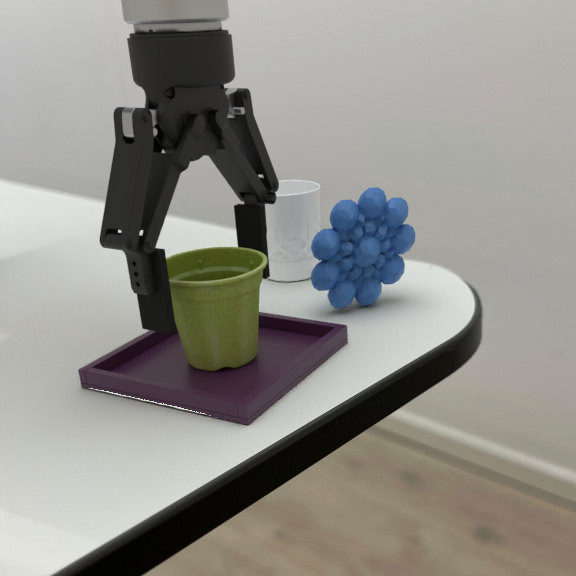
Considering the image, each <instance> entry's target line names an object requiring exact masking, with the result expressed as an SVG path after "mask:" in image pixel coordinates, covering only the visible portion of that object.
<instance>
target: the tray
mask: <svg viewBox="0 0 576 576" xmlns="http://www.w3.org/2000/svg"><path fill="white" fill-rule="evenodd" d="M175 325H176V323H175ZM348 335H349V334H348V324H341V323H335V322H328V321H322V320H316V319H309V318H302V317H296V316H290V315H289V316H288V315H283V314H275V313H271V312H270V313H269V312H264V311H263V312H262V311H259V319H258V350H257V355H256V357H255V358H254V359H253V360H252V361H250V362H249V363H247V364H245V365H243V366H240V367H237V368H232V367H223V368H220V369H219V370H217V371H206V370H201V369H197V368H195V367H193V366H191V365H190V364H189V362H188V361H187V358H186V355H185V352H184V348H183V345H182V342H181V338H180V335H179V332H178V329H177V326H176V331H174V332H173V333H171V334H167V333H162V332H156V331H151V330H146V332H144V333H142V334H140V335H139V336H137V337H134V338H133V339H131V340H129V341H127V342H126V343H123V344H122V345H120V346H118V347H116V348H115V349H113V350H111V351H109V352H107V353H105V354H104V355H102V356H100V357H98V358H97V359H95V360H92V361H91V362H89V363H87V364H86V365H84V366H82V367H80V368H78V369H77V373H78V375H79V376H78V377H79V381H80V387H81V388H82V387H84V388H83V389H85V388H93V389H98V390H104V391H109V392H113V393H118V394H121V395H126V396H131V397H135V398H140V399H143V400H144V399H145V400H149V401H154V402H157V403H162V404H163V403H164V404H167V405H172V406H177V407H181V408H184V409H188V410H192V411H195V412H196V411H197V412H199V413H200V412H201V413H205V414H207V415H211V416H213V417H212V418H214V417H217V418H216V419H218V418H223V419H225V420H224V421H227V420H229V421H228V422H232V421H234V422H233V423H236V422H239V423H238V424H240V423H242V424H241V425H245V424H246V425H245V426H249V425H250V424H251V423H253V422H254V421H255V420H256V419H257V418H259V417H260V416H261V415H262V414H264V413H265V412H266V411H267V410H268V409H269V408H271V407H272V406H273V405H274V404H275V403H276V402H278V401H279V400H280V399H281V398H282V397H284V396H285V395H286V394H287V393H289V392H290V391H291V390H292V389H294V388H295V387H296V386H297V385H298V384H299V383H301V382H303V380H304V379H305V378H307V377H308V376H309V375H310V374H311V373H313V372H314V371H315V370H316V369H317V368H319V367H320V366H321V365H322V364H323V363H325V362H326V361H327V360H329V358H331V357H332V356H333V355H334V354H335V353H337V352H338V351H339V350H340V349H341V348H342V347H345V345H346V344H348V342H349V336H348ZM289 390H290V391H289ZM285 393H286V394H285ZM284 394H285V395H284ZM283 395H284V396H283ZM277 400H278V401H277ZM271 405H272V406H271ZM223 419H222V420H223Z"/></svg>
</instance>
